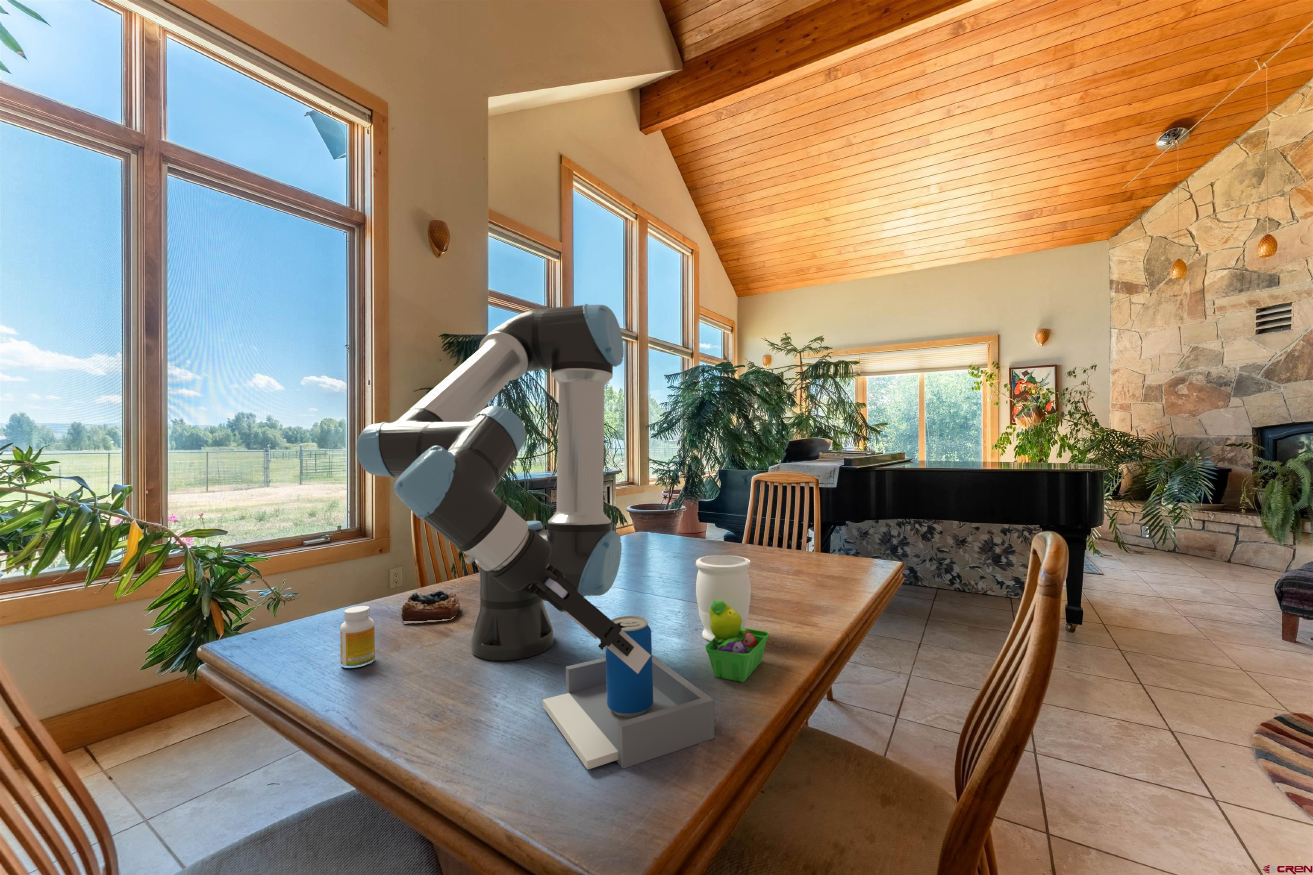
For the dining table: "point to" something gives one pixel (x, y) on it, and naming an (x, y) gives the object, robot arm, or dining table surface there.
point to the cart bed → (629, 740)
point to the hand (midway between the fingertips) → (620, 646)
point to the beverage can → (630, 672)
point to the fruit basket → (733, 644)
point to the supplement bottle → (357, 637)
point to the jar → (722, 587)
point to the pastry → (430, 607)
